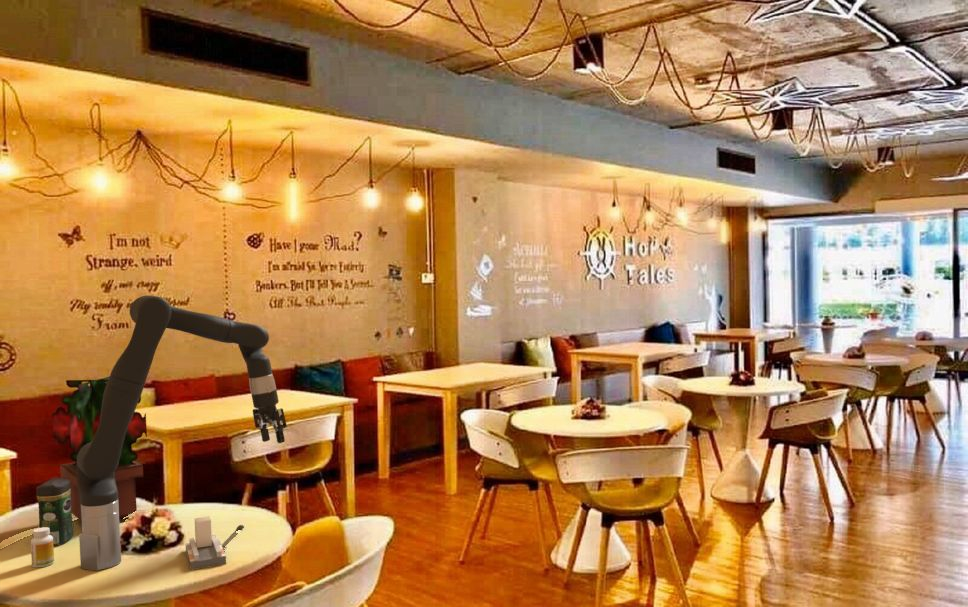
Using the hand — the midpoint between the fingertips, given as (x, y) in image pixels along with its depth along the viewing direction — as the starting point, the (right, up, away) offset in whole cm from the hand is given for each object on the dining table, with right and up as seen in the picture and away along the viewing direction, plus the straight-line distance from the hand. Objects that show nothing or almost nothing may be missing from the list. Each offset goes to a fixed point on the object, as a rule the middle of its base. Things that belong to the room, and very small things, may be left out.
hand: (273, 441), depth 249 cm
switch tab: (-14, -25, -21) cm, 36 cm away
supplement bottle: (-56, -29, -27) cm, 69 cm away
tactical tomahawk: (-9, -28, -10) cm, 31 cm away
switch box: (-13, -28, -25) cm, 39 cm away
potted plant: (-58, -27, +13) cm, 65 cm away
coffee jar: (-62, -28, -9) cm, 69 cm away
